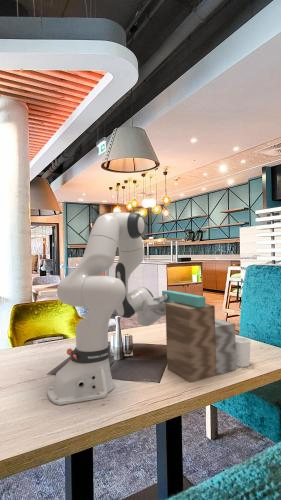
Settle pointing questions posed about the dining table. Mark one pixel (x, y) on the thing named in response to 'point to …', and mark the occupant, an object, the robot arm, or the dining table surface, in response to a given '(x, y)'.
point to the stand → (198, 342)
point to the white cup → (242, 351)
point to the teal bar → (185, 298)
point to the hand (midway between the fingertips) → (172, 295)
